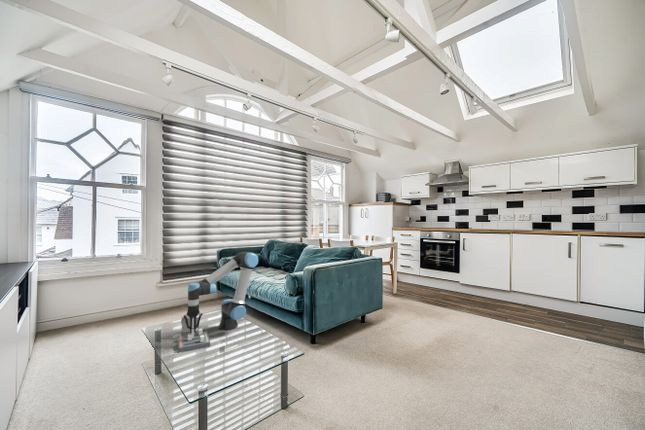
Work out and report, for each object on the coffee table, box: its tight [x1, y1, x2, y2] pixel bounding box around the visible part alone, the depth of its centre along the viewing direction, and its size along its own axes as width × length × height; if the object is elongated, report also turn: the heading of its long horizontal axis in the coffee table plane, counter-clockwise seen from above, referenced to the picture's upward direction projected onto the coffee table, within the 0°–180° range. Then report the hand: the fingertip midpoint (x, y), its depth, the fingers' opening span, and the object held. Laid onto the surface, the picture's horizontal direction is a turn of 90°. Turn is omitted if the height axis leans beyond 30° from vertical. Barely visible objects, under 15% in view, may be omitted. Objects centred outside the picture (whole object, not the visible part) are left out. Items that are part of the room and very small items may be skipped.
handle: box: [198, 328, 203, 335], centre depth 211 cm, size 2×4×3 cm, turn 28°
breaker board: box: [177, 331, 211, 353], centre depth 203 cm, size 20×22×3 cm
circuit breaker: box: [180, 315, 200, 336], centre depth 220 cm, size 8×14×15 cm, turn 174°
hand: (192, 337), depth 202 cm, fingers closed
